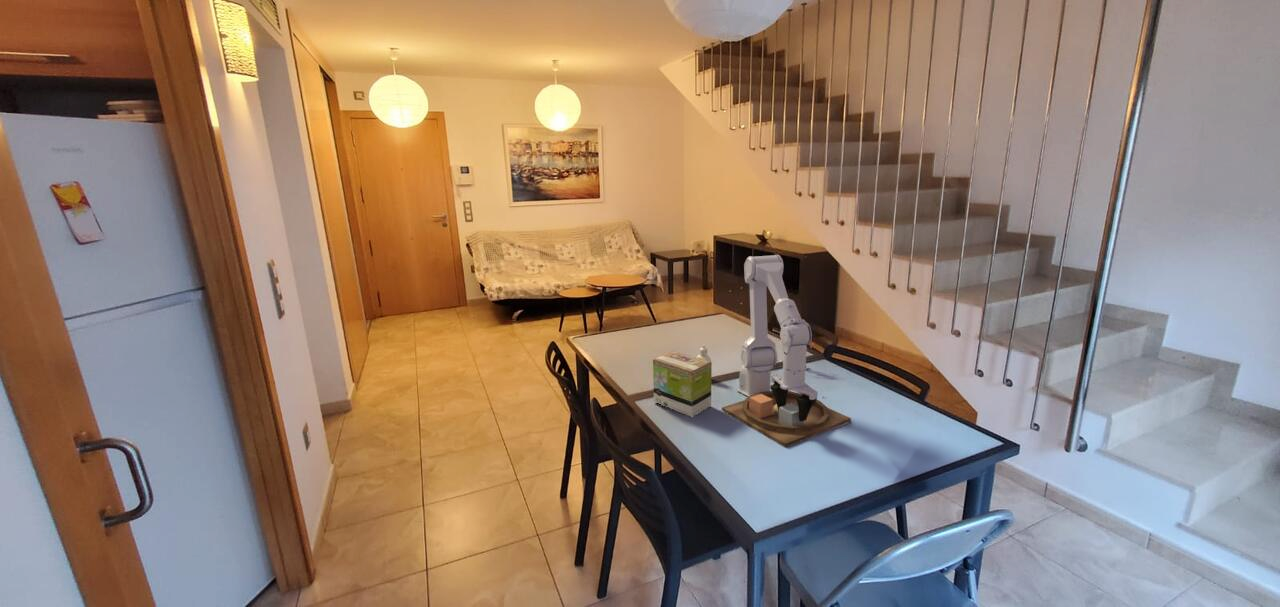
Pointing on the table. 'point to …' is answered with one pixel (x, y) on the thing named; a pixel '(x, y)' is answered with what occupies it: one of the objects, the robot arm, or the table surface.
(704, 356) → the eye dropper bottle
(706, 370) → the tea box
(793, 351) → the robot arm
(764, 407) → the orange cube
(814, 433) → the groove tray
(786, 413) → the grey cube
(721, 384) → the table surface
